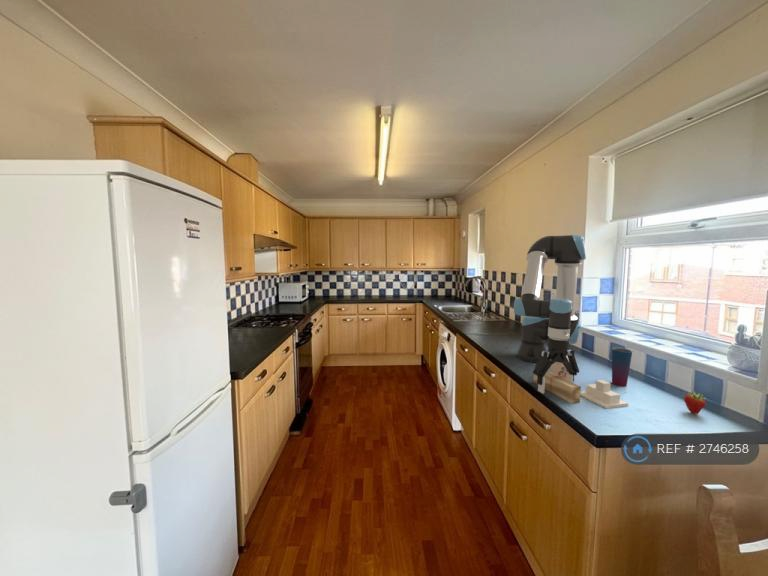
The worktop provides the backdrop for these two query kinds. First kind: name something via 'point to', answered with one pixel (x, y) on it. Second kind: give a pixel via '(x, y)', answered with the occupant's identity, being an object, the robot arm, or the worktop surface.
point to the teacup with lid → (559, 369)
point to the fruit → (694, 402)
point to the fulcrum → (603, 395)
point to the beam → (561, 387)
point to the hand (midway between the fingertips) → (555, 391)
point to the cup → (620, 366)
